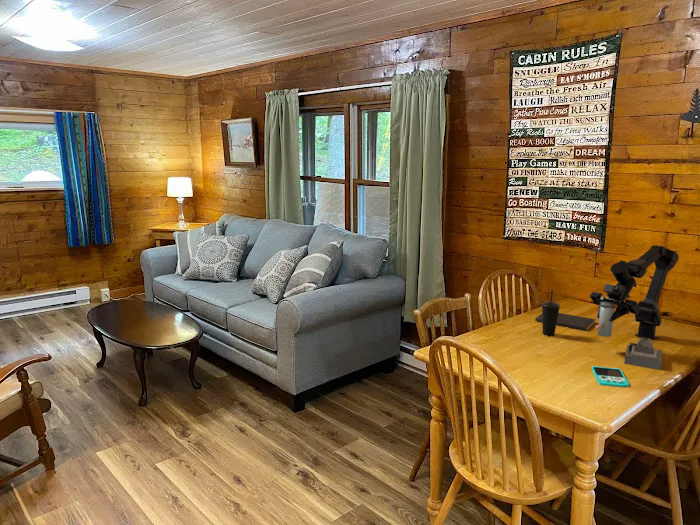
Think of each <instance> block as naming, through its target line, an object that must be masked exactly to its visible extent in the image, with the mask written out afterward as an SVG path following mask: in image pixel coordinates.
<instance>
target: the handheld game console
mask: <svg viewBox="0 0 700 525" xmlns="http://www.w3.org/2000/svg"><path fill="white" fill-rule="evenodd" d="M591 371H592V372H593V375H594V377H595V380H596V382H597V383H598V385H599V386H609V387H616V388H617V387H618V388H628V387H629V386H630V383H629V381H628V379H627V378H626V376H625V375H624V373H623V371H622V369H621V368H616V367H615V368H613V367H605V366H595V365H594V366H593V365H592V366H591Z"/></svg>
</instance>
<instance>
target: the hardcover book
mask: <svg viewBox="0 0 700 525" xmlns="http://www.w3.org/2000/svg"><path fill="white" fill-rule="evenodd" d="M535 321H537V322H536V323H540V322H542V313H541V314H539V315H538V316H537V317H535V319H534V322H535ZM595 321H596V318H590V317H585V316H580V315H575V314H574V315H573V314H568V313H562V312H558V318H557V323H556V325H557V326H556V327H561V326H562V327H561V328H566V327H568V328H567V329H572V330H578V331H583V332H587V330H589V328H591V327H592V326H593V325H594V324H595V323H596V322H595Z"/></svg>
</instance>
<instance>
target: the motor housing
mask: <svg viewBox="0 0 700 525" xmlns="http://www.w3.org/2000/svg"><path fill="white" fill-rule="evenodd" d="M623 363H624V364H626V365H631V366H636V367H643V368H648V369H652V370H653V369H655V370H660V371H661V370H662V363H663V350H662V349H661V350H660V349H657V348H654V342H653V339H650V338H647V337H642V338H641V337H639V339H637V343H634V342H629V344H627V346H626V350H625V354H624V362H623Z"/></svg>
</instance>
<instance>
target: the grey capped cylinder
mask: <svg viewBox="0 0 700 525" xmlns="http://www.w3.org/2000/svg"><path fill="white" fill-rule="evenodd" d="M615 308H616V305H615V303H613V302H606V301H603V302H600V316H599V318H598V324H597V325H595V329H596V330H597V336H601V337H604V338H605V337H607V338H609V337H610V338H611V337H612V333H613V325H614V321H612V322H610V318H611V317H612V315H613V313H614V312H615Z"/></svg>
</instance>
